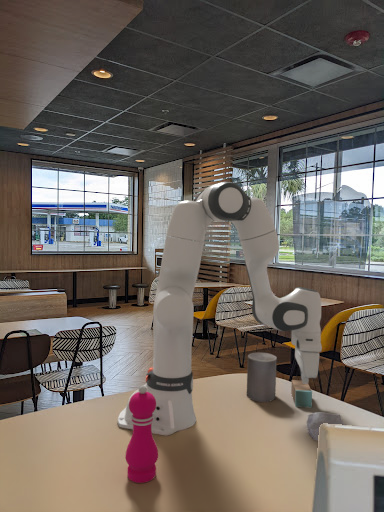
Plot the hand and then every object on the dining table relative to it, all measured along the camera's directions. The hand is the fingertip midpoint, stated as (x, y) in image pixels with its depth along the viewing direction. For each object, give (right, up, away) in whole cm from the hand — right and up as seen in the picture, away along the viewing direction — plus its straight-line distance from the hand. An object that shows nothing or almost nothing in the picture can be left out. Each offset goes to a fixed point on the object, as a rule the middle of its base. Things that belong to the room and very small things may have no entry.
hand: (304, 382), depth 122 cm
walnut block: (0, -6, +1) cm, 6 cm away
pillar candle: (-12, -8, +9) cm, 17 cm away
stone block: (+1, -9, -15) cm, 18 cm away
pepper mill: (-47, -9, -36) cm, 60 cm away
